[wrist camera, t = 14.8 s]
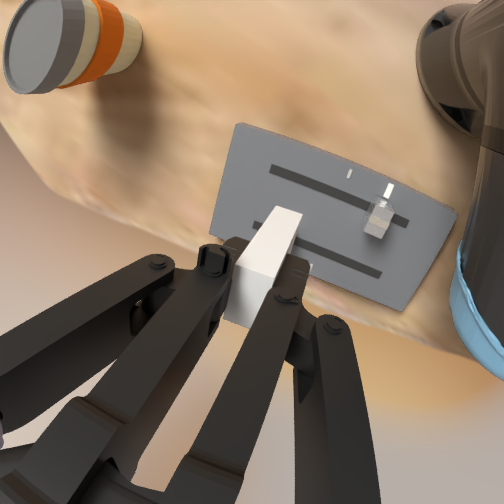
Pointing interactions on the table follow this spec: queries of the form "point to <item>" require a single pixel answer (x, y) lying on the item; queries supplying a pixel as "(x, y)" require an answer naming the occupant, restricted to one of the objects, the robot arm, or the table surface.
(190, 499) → the robot arm
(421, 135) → the table surface
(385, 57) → the table surface
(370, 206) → the fader
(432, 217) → the console
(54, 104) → the table surface
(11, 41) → the reusable coffee cup
